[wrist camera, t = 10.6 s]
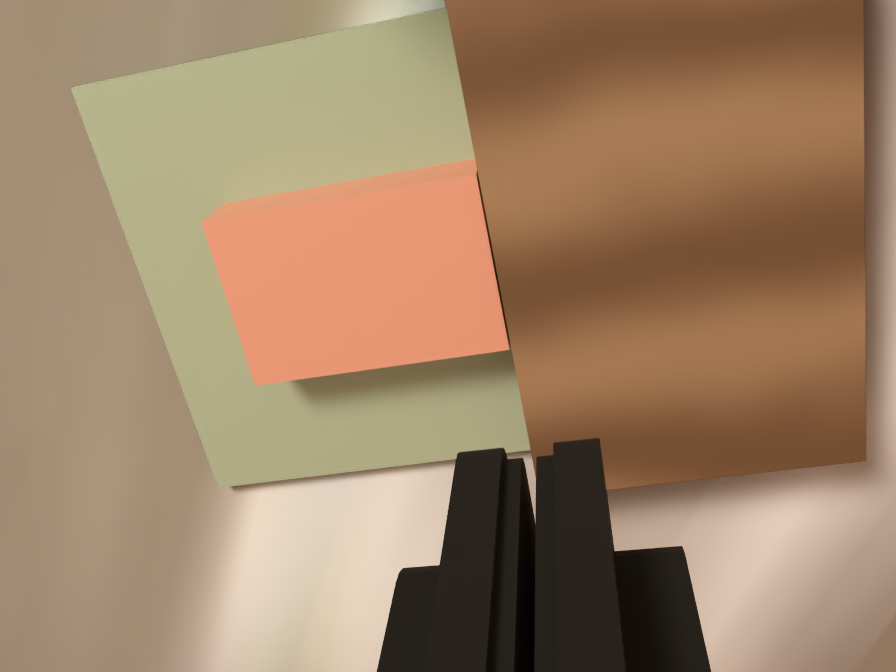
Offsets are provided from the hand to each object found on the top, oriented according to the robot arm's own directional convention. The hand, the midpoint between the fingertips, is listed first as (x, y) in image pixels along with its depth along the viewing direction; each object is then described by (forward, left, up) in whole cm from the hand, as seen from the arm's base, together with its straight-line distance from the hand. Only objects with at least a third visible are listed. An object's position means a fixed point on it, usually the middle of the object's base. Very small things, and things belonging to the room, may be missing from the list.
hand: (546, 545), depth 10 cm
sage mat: (+3, -8, -20) cm, 22 cm away
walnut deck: (+3, +4, -20) cm, 21 cm away
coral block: (+2, -6, -18) cm, 20 cm away
